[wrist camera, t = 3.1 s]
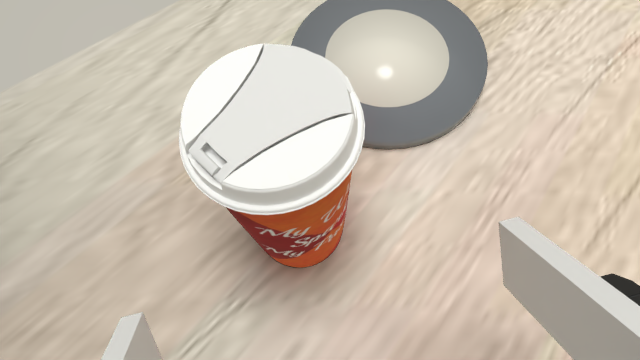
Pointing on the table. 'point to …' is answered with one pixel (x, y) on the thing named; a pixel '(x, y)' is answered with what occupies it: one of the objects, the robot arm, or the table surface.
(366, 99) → the saucer
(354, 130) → the coffee cup
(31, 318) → the table surface
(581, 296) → the robot arm
